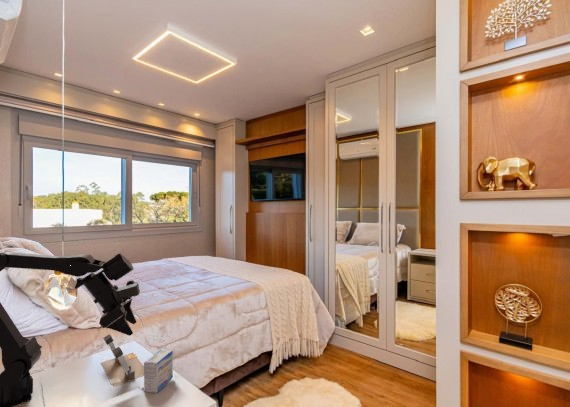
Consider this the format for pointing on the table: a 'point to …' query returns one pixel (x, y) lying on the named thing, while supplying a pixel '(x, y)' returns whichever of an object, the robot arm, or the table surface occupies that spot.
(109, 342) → the far lever
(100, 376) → the table surface
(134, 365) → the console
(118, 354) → the near lever
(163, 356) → the medicine box
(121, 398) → the table surface
